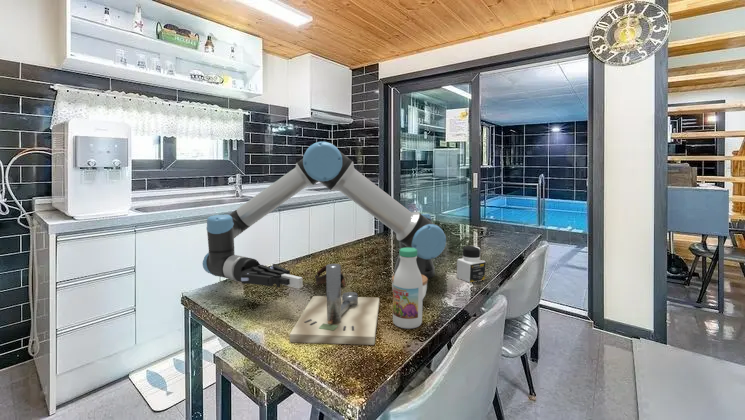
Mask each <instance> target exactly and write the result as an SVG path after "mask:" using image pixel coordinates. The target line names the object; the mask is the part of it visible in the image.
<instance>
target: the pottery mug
mask: <svg viewBox="0 0 745 420" xmlns="http://www.w3.org/2000/svg"><path fill="white" fill-rule="evenodd" d="M324 272H326V265H324V266H322V267H321V268H320V269H319V270H317V272H316V274H315V275H314V278H315V284H316V285H317V286H319V285H324V284H326V273H325V274H323V273H324ZM322 274H323V275H322ZM341 285H342V287H343V288H345V287H346V279H345V277H344V275H343V272H342V271H341Z"/></svg>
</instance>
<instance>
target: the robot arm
mask: <svg viewBox="0 0 745 420" xmlns="http://www.w3.org/2000/svg"><path fill="white" fill-rule="evenodd" d="M317 183H320V184H322V185H323V186H324V187H325V188H327V189H328V190H330V192H331V191H339V192H340V193H342V194H343V195H344V196H346V197H347V198H348V199H350V200H351V201H352V202H354V203H355V204H356V205H358V206H359V207H360V208H361V209H363V210H364V211H365V212H367V213H368V214H370V215H371V216H373V217H374V218H375V219H376V220H378V221H380V222H381V223H382V224H383V225H385V226H386V227H387V228H389V229H390V230H391V231H392V232H394V233H395V236H396V240H397V241H398V242H399V248H398V249H399V250H400V249H401V248H406V247H409V248H415V249H417V258H416V262H417V266H418V268H419V271H420V273H421V274H422V275H424V276H426V277H427V279H428V280H429V279H431V278H433V277H434V276H435V271H436V270H435V269H436V268H435V264H434V262H433V259H435V258H437V257H438V256H441V254H442V253H443V252H444V250H445V248H446V245H447V237H446V234H445V232H444V230H443V229H442V227H440V226H439V225H436V224H435V223H433V222H432V221H433V220H432V215H431V214H430V213H421V212H420V211H413V212H412V211H410V210H409V209H407V207H405V206H404V205H402V204H401V203H400V202H399V201H397V200H396V199H394V198H393V197H392V195H391V196H390V195H389V194H388V193H387V192H385V191H384V190H383V189H382V188H380V187H379V186H378V185H377V184H375V183H374V182H373V181H371V180H370V179H369V178H368V177H366V176H365V175H364V174H362V173H361V172H360V171H358V170H357V169H356V168H355V164H354V161H353V160H352V159H351V158H349V157H348V156H346V154H344V153H343V152H342V151H340V150H339V149H338V147H337V146H336V145H334V144H333V143H331V142H327V141H316V142H315V143H312V144H310V145H309V147H307V149H306V150H305V152H304V153H303V158H302V159H300V160H298V162H296V163H295V167H294V168H293V169H291V170H289V171H288V172H287V173H286V174H284V175H283V176H281V177H280V178H279V179H277V180H276V181H274V182H273V183H271V185H270V184H269V186H267V187H266V188H264V189H263V190H262V191H260V192H259V193H258V194H256V195H255V196H254V197H252V198H251V199H249V200H248V201H246V202H244V204H242V205H240V206H238V207H237V208H236V209H235V210H233V211H232V212H231V213H229V214H216V215H215V214H214V215H210V216H208V217H207V219H206V232H207V234H206V235H207V244H208V252H207V253H206V254H205V255H204V258H203V260H202V267H203V269H204V271H205V272H206V273H208V274H210V275H212V276H215V277H221V278H226V279H229V280H233V281H235V282H237V283H241V284H243V285H245V284H247V285H258V286H266V287H273V286H274V285H276V288H280V287H281V285H282V286H287V287H291V288H295V289H298V290H300V289H301V288H303V286H304V285H303V282H304V281H303V277H302V276H297V275H294V274H291V270H289V269H286V268H283V267H281V266H279V265H277V264H276V263H273V264H272V265H271V266H268V265H264V264H261V263H260V262H259V260H257V259H255V258H252V257H247V256H242V255H238V254H235V239H236V237H238V236H240V234H242V233H244V232H245V231H246V230H247V229H249V228H251V227H252V226H253V225H254V224H256V223H257V222H258V221H260V220H261V219H262V218H264V217H266V216H267V215H268V214H270V213H271V212H273V211H274V210H275V209H277V208H278V207H280V206H281V205H282V204H284V203H285V202H287V201H288V200H290V199H292V198H293V197H294V196H295V195H296V194H298V193H300V192H301V191H302V190H304V189H305V188H306V187H308V186H314V185H316V184H317ZM399 256H400V255H399V254H398V257H397V260H396V262H395V266H394V274H395V273H396V270H397V268H398V266H399V263H400V257H399Z"/></svg>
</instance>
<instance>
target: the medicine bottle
mask: <svg viewBox="0 0 745 420" xmlns="http://www.w3.org/2000/svg"><path fill="white" fill-rule="evenodd" d="M456 263H457V264H456V278H458V279H459V280H461V279H462V281H464V282H466V283H468V282H469V284H472V282H473V283H478V282H482V280H483V281H485V278H486V276H485V275H486V261H485V260H484V259H483V260H482V259H481V248H480V247H479V246H477V245H465V246H463V248H462V258H457V262H456ZM477 281H478V282H477Z"/></svg>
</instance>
